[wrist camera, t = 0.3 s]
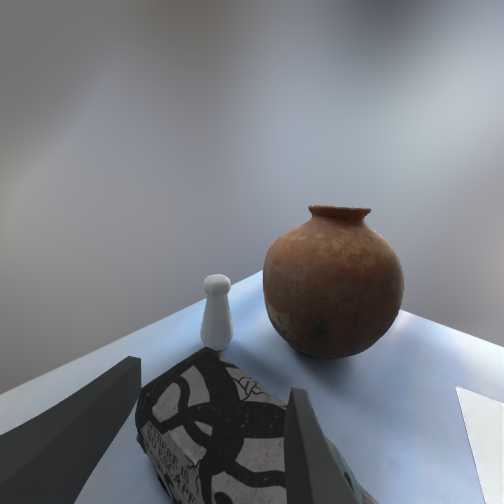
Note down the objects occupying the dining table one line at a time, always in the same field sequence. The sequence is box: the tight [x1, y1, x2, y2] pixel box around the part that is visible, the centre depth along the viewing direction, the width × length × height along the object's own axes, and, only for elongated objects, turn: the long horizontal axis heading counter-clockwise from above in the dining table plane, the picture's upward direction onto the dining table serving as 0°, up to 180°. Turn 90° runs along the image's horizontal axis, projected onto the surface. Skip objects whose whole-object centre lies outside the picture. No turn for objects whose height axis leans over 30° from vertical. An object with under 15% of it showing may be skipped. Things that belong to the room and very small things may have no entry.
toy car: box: [135, 347, 379, 504], centre depth 22 cm, size 11×25×10 cm, turn 48°
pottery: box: [263, 205, 404, 359], centre depth 42 cm, size 23×23×25 cm
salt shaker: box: [200, 274, 234, 351], centre depth 41 cm, size 6×6×13 cm
